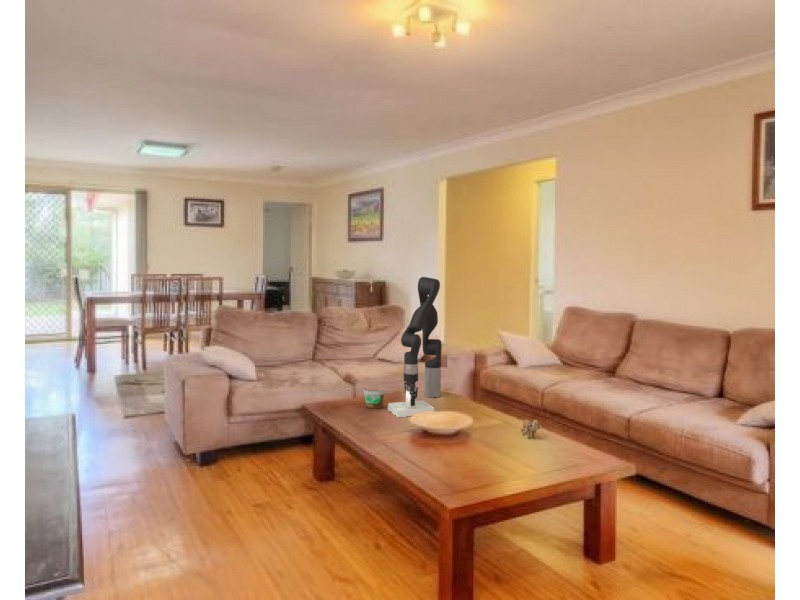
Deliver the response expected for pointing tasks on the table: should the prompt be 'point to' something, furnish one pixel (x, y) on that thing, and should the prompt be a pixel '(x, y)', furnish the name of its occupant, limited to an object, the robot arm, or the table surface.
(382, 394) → the food container
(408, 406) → the cup
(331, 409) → the table surface
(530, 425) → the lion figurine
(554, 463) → the table surface
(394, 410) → the tray
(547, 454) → the table surface
